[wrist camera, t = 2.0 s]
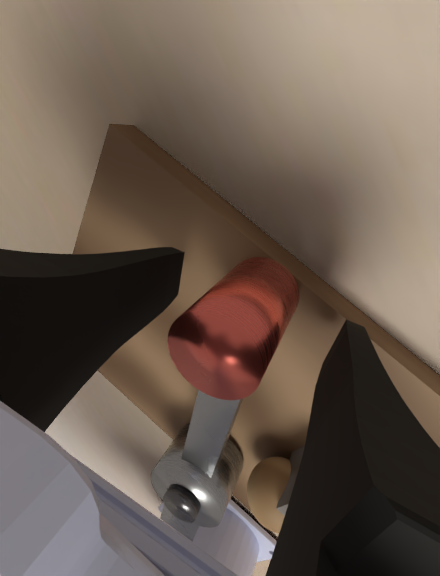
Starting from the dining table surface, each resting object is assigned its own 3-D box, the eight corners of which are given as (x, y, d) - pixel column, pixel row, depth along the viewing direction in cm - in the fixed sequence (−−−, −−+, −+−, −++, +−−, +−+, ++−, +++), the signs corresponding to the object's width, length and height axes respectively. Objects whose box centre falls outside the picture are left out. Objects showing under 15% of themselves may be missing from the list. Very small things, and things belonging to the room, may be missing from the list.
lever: (224, 508, 21) (189, 591, 17) (170, 472, 22) (126, 543, 18) (330, 279, 11) (303, 355, 7) (223, 238, 12) (152, 284, 8)
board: (275, 505, 21) (252, 586, 17) (69, 317, 23) (6, 354, 19) (495, 421, 12) (547, 548, 8) (133, 125, 14) (40, 120, 10)
